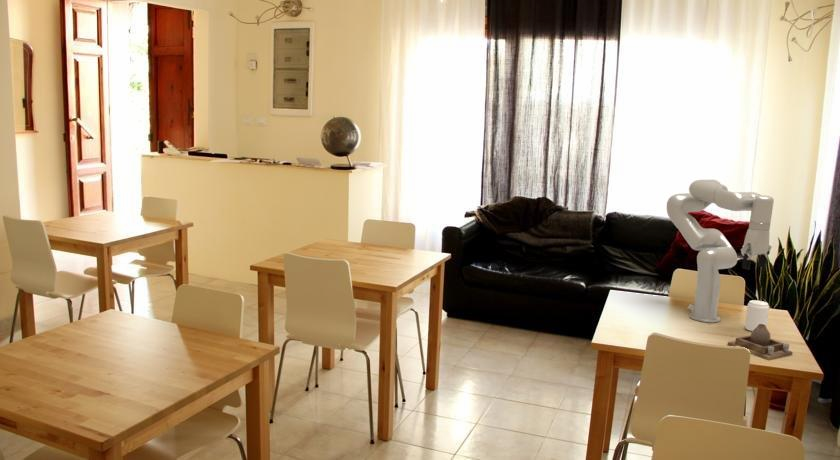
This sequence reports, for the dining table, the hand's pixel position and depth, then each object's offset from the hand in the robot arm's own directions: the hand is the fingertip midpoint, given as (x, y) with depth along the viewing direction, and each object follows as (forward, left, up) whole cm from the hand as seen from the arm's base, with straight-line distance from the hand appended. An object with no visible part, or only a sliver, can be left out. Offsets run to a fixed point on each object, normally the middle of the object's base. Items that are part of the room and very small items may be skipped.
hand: (753, 268), depth 293 cm
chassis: (+15, -12, -28) cm, 34 cm away
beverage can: (-2, +9, -28) cm, 30 cm away
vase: (+15, -12, -27) cm, 33 cm away
